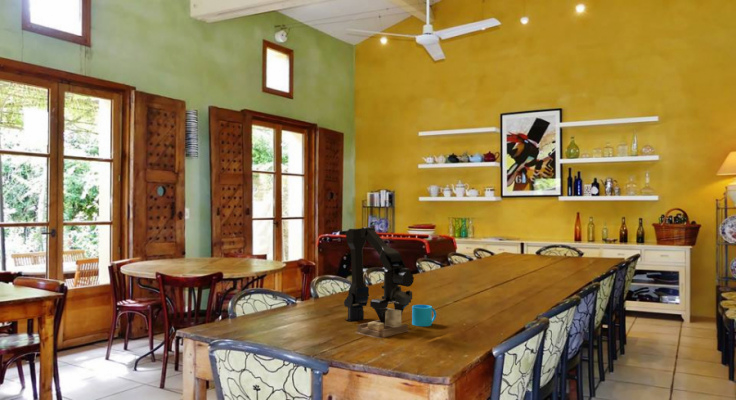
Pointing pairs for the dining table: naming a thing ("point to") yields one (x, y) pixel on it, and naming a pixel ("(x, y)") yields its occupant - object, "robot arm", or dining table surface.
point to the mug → (422, 315)
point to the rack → (384, 333)
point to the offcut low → (375, 330)
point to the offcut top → (375, 325)
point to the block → (393, 317)
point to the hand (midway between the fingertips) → (390, 322)
